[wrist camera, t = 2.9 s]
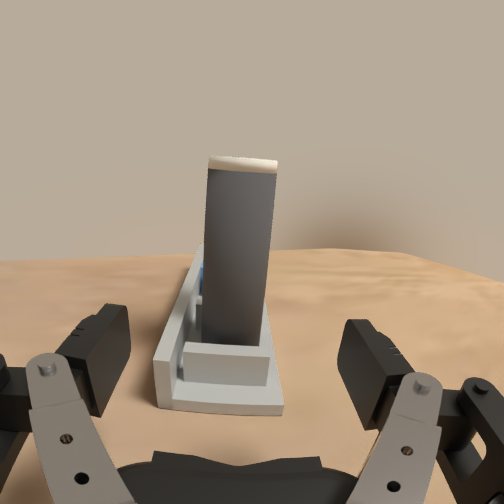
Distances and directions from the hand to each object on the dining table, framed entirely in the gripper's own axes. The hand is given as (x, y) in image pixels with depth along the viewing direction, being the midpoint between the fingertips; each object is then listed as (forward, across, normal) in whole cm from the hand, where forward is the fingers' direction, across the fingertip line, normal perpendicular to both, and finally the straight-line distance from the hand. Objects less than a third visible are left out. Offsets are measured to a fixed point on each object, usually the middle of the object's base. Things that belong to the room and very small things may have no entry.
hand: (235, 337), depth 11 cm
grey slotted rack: (+18, 0, +9) cm, 20 cm away
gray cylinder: (+11, 0, +8) cm, 14 cm away
